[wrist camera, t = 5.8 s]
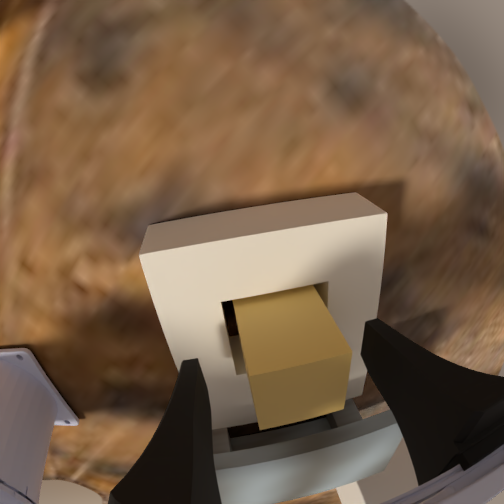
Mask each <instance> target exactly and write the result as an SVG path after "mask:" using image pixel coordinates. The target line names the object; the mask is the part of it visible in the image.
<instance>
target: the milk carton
mask: <svg viewBox="0 0 504 504" xmlns="http://www.w3.org/2000/svg"><path fill="white" fill-rule="evenodd" d="M416 487H418V482H417V478H416V474H415V471H414V467H413V464H412V461H411V458H410V455H409V452H408V449H407V446H406V443H405V441H404V438H403V437H402V439H401V441H400V443H399V445H398V447H397V449H396V451H395V452H394V454H393V456H392V458H391V460H390V461H389V463H388V465H387V467H386V468H385V470H384V471H382V472H380V473H377V474H375V475H372V476H369V477H367V478H364V479H361V480H358V481H355V482H353V483H350V484H347V485H343V486H340V487H337V488H336V490H337V492H338V495H339V498H340V500H341V503H342V504H380V503H383V502H385V501H388V500H390V499H392V498H395V497H397V496H399V495H401V494H403V493H406V492H408V491H410V490H412V489H414V488H416ZM432 497H433V496H432ZM427 500H428V499H427ZM425 501H426V500H425ZM425 501H423V502H425ZM423 502H421V503H423ZM421 503H419V504H421Z"/></svg>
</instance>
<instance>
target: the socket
mask: <svg viewBox="0 0 504 504" xmlns="http://www.w3.org/2000/svg"><path fill="white" fill-rule="evenodd" d="M386 228H387V212H385V211H384V210H382V209H381V208H379V207H378V206H376V205H375V204H373V203H372V202H370V201H369V200H367V199H366V198H364V197H363V196H361V195H360V194H358V193H356V192H354V193H346V194H338V195H331V196H323V197H316V198H309V199H302V200H295V201H288V202H281V203H275V204H268V205H261V206H255V207H249V208H243V209H236V210H230V211H224V212H218V213H213V214H207V215H201V216H195V217H190V218H184V219H179V220H173V221H168V222H163V223H157V224H152V225H148V228H147V231H146V234H145V237H144V240H143V243H142V246H141V249H140V252H139V257H140V261H141V264H142V268H143V271H144V274H145V278H146V281H147V284H148V287H149V290H150V293H151V297H152V300H153V303H154V306H155V309H156V312H157V315H158V318H159V321H160V323H161V326H162V329H163V332H164V335H165V338H166V340H167V343H168V346H169V348H170V351H171V354H172V356H173V359H174V362H175V364H176V367H177V369H178V372H179V370H180V366H181V362H182V361H183V360H189V359H195V358H198V360H199V363H200V366H201V370H202V373H203V376H204V379H205V382H206V385H207V388H208V393H209V399H210V406H211V417H212V430H213V429H220V428H226V427H232V426H238V425H244V424H249V423H255V422H258V420H257V416H256V412H255V407H254V403H253V398H252V394H251V389H250V385H249V380H248V376H247V371H246V367H245V362H244V357H243V353H242V348H241V343H240V339H239V335H236V336H231V337H229V332H228V327H227V322H226V317H225V312H224V307H223V301H229V300H234V299H240V298H245V297H251V296H256V295H262V294H267V293H272V292H277V291H282V290H287V289H292V288H297V287H302V286H307V285H312V284H313V286H314V288H315V289H316V291H317V293H318V294H319V296H320V298H321V299H322V301H323V302H324V304H325V306H326V307H327V309H328V311H329V313H330V314H331V316H332V318H333V319H334V321H335V323H336V324H337V326H338V328H339V329H340V331H341V333H342V334H343V336H344V338H345V340H346V341H347V343H348V345H349V346H350V348H351V350H352V359H351V366H350V373H349V380H348V386H347V393H346V399H345V400H347V399H351V398H354V397H357V396H360V395H362V392H363V388H364V383H365V379H366V374H367V369H366V366H365V364H364V362H363V359H362V357H361V355H360V354H361V347H362V340H363V333H364V326H365V321H369V320H372V319H376V318H377V312H378V305H379V297H380V290H381V281H382V273H383V263H384V253H385V241H386Z"/></svg>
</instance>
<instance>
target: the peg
mask: <svg viewBox="0 0 504 504" xmlns="http://www.w3.org/2000/svg"><path fill="white" fill-rule="evenodd" d="M232 303H233V308H234V314H235V319H236V324H237V329H238V334H239V339H240V343H241V348H242V353H243V357H244V362H245V367H246V371H247V376H248V380H249V385H250V389H251V394H252V398H253V403H254V407H255V412H256V416H257V420H258V425H259V429H260V430H263V429H268V428H273V427H277V426H282V425H286V424H290V423H295V422H299V421H303V420H307V419H310V418H314V417H318V416H322V415H325V414H329V413H332V412H336V411H339V410H342V409H344V404H345V399H346V393H347V386H348V380H349V373H350V366H351V359H352V350H351V348H350V346H349V345H348V343H347V341H346V340H345V338H344V336H343V334H342V333H341V331H340V329H339V328H338V326H337V324H336V323H335V321H334V319H333V318H332V316H331V314H330V313H329V311H328V309H327V307H326V306H325V304H324V302H323V301H322V299H321V298H320V296H319V294H318V293H317V291H316V289H315V288H314V286H313V284H312V285H307V286H302V287H297V288H292V289H287V290H282V291H277V292H272V293H267V294H262V295H256V296H251V297H245V298H240V299H234V300H232Z"/></svg>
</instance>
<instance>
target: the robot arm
mask: <svg viewBox="0 0 504 504" xmlns="http://www.w3.org/2000/svg"><path fill="white" fill-rule="evenodd" d="M360 355H361V357H362V359H363V362H364V364H365V366H366V369H367V371H368V373H369V375H370V376H371V378H372V380H373V381H374V383H375V385H376V386H377V388H378V390H379V391H380V393H381V394H382V396H383V398H384V399H385V401H386V403H387V404H388V406H389V408H390V409H391V411H392V413H393V415H394V417H395V419H396V422H397V424H398V426H399V428H400V431H401V433H402V436H403V438H404V441H405V443H406V446H407V449H408V452H409V455H410V458H411V461H412V464H413V467H414V471H415V474H416V478H417V482H418V487H416V488H414V489H412V490H410V491H408V492H406V493H403V494H401V495H399V496H397V497H395V498H392V499H390V500H388V501H385V502H383V503H380V504H419V503H421V502H423V501H425V500H426V501H425V502H423V503H421V504H485V503H487V502H488V501H490V500H491V499H492V498H494V497H495V496H496V495H498V494H499V493H500V492H502V491H503V490H504V377H501V376H495V375H490V374H486V373H482V372H478V371H474V370H471V369H468V368H465V367H462V366H459V365H457V364H454V363H452V362H450V361H448V360H445V359H443V358H441V357H439V356H437V355H435V354H433V353H431V352H429V351H428V350H426V349H424V348H422V347H421V346H419V345H417V344H416V343H414V342H413V341H411V340H409V339H408V338H406V337H405V336H403V335H402V334H400V333H399V332H397V331H396V330H394V329H393V328H391V327H390V326H388V325H387V324H385V323H384V322H382V321H381V320H379V319H378V318H376V319H372V320H369V321H365V326H364V333H363V340H362V347H361V354H360ZM78 424H79V419H78V417H77V416H76V415H75V414H74V412H73V411H72V410H71V408H70V407H69V406H68V405H67V403H66V402H65V401H64V399H63V398H62V397H61V395H60V394H59V392H58V391H57V390H56V388H55V387H54V385H53V384H52V383H51V381H50V380H49V378H48V377H47V375H46V374H45V372H44V371H43V369H42V368H41V366H40V365H39V363H38V362H37V360H36V358H35V357H34V355H33V354H32V352H31V351H30V350H29V349H27V348H12V349H0V504H38V502H39V496H40V489H41V484H42V478H43V473H44V468H45V463H46V458H47V453H48V448H49V444H50V440H51V436H52V431H53V427H54V425H72V426H76V425H78ZM432 496H433V497H432ZM427 499H428V500H427ZM108 504H222V502H221V497H220V492H219V487H218V482H217V477H216V471H215V465H214V457H213V439H212V417H211V406H210V399H209V393H208V388H207V385H206V382H205V379H204V376H203V373H202V370H201V366H200V363H199V360H198V358H195V359H189V360H183V361H182V362H181V366H180V370H179V374H178V378H177V381H176V384H175V387H174V390H173V393H172V396H171V398H170V401H169V404H168V406H167V408H166V411H165V413H164V415H163V418H162V420H161V422H160V424H159V426H158V428H157V430H156V432H155V433H154V435H153V437H152V439H151V441H150V442H149V444H148V445H147V447H146V449H145V450H144V452H143V453H142V455H141V456H140V458H139V459H138V460H137V462H136V463H135V464H134V465H133V467H132V468H131V469H130V471H129V472H128V473H127V474H126V475H125V477H124V478H123V479H122V480H121V481H120V482H119V483H118V484H117V485H116V486H115V487H114V488H113V489H112V490H111V492H110V496H109V501H108Z"/></svg>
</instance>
